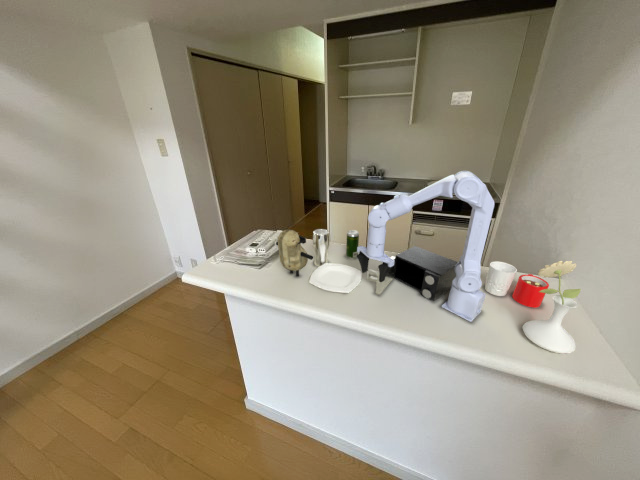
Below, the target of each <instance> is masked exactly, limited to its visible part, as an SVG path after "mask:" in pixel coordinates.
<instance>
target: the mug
mask: <svg viewBox="0 0 640 480" xmlns="http://www.w3.org/2000/svg"><path fill="white" fill-rule="evenodd" d="M549 287H550V284H549V282H548V281H547V280H546V279H543V278H541V277H540V276H536V275H534V274H532V273H528V274H521V275H519V277H518V279H517V282H516V285H515V287H514V290H513V293H512V295H511V297H512V299H513V301H515V302H516V303H518V304H520V305H522V306H524V307H529V308H539V307H541V306H542V303H543V301H544V299H545V296H546V295H547V294H546V293H542V292H539V291H541V290H543V289H549Z"/></svg>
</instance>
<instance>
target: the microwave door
mask: <svg viewBox="0 0 640 480" xmlns="http://www.w3.org/2000/svg"><path fill="white" fill-rule="evenodd" d="M390 258H391V259H393V260H395V261H396V256H394V255H392V256H391V257H390ZM394 268H395V262H394V266H392V267H391V269H390V270H389V271H388V273H387V275H386V277H385V280H384V281H383V282H379V269H377V270H373V269H371V268H368V270H367V273H366V280H367V281H369V282H373V283H375V284H376V285H375V294H376V295H378V296H380V295H381V294H382V293H383V292H384V290H386V288H387V287H388V286H389V284H390V283H391V282H392V281H393V280H394V278H393V276H394ZM374 276H376V277H374Z"/></svg>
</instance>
